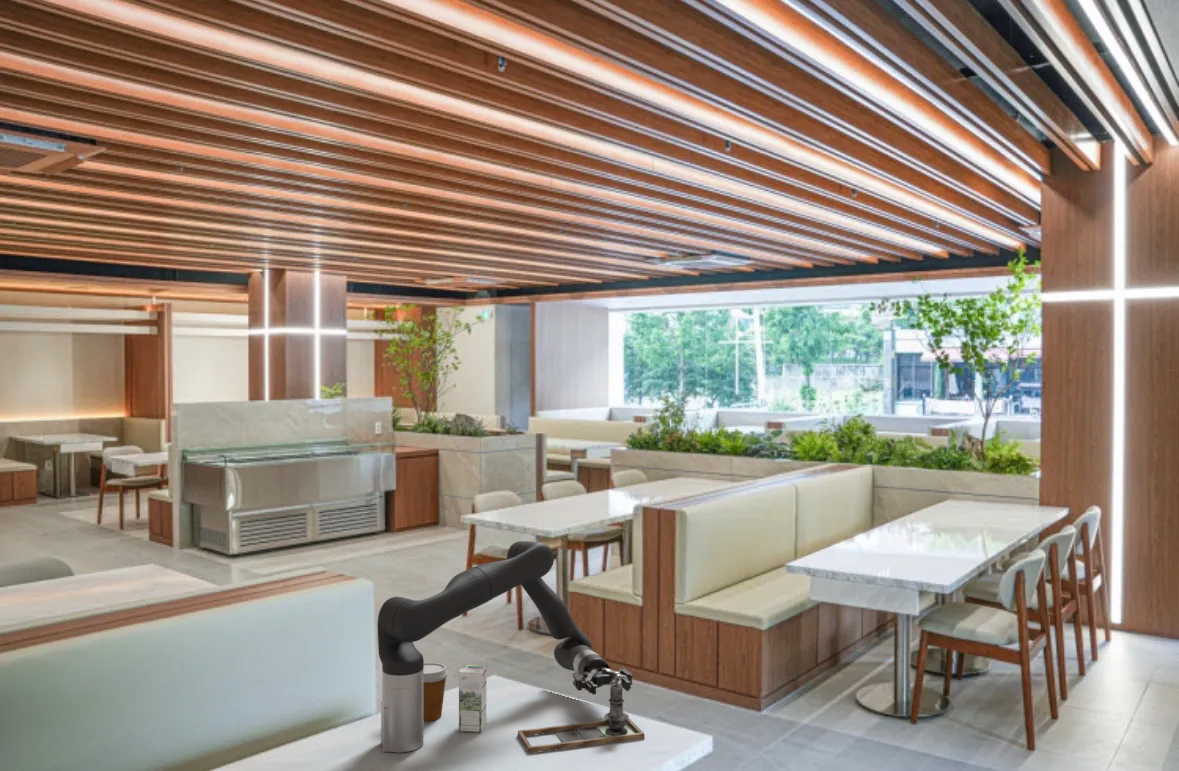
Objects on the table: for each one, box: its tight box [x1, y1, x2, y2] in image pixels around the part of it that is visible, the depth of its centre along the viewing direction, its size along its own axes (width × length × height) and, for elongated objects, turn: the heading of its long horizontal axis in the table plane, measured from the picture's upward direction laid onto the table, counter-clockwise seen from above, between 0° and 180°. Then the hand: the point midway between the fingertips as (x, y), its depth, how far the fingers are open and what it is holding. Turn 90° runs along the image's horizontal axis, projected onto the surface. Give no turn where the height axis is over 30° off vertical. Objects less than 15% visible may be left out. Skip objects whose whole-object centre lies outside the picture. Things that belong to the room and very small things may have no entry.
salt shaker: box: [603, 681, 630, 736], centre depth 211 cm, size 6×6×12 cm
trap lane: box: [517, 718, 645, 754], centre depth 208 cm, size 28×11×1 cm, turn 108°
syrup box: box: [458, 664, 488, 734], centre depth 213 cm, size 6×6×14 cm
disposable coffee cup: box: [423, 662, 449, 722], centre depth 221 cm, size 10×10×12 cm
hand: (611, 688), depth 215 cm, fingers open, 8 cm apart
